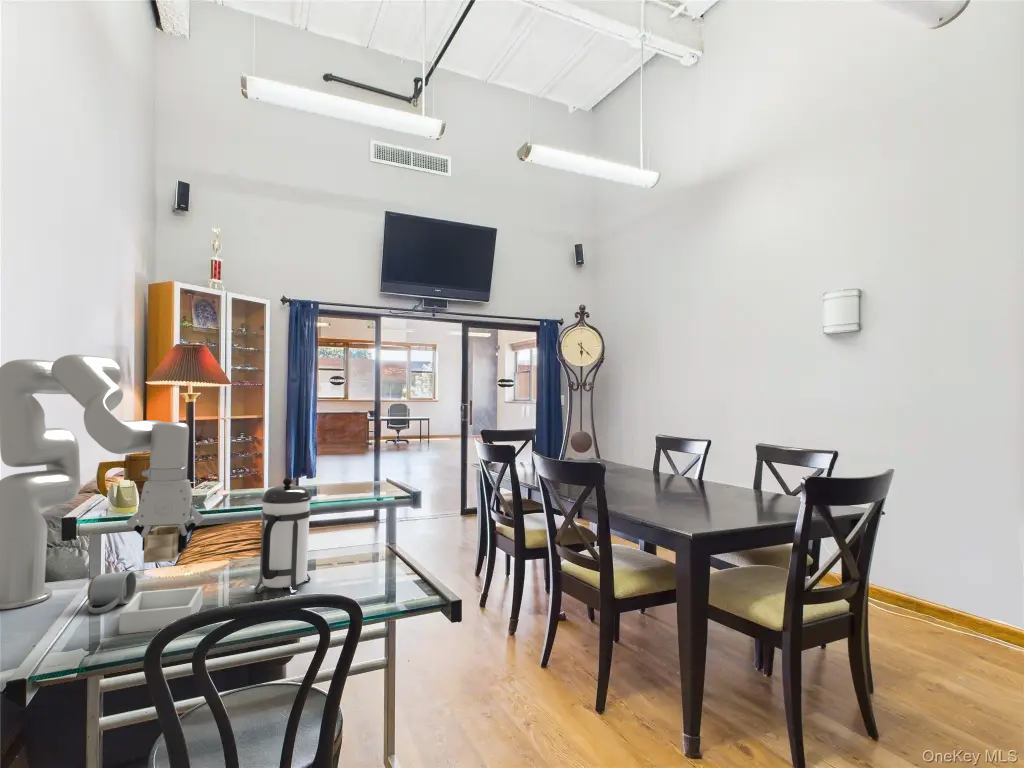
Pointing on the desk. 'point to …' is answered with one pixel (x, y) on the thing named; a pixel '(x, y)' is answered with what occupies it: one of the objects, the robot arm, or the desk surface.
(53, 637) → the desk surface
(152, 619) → the grey crate
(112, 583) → the ceramic mug
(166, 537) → the birch crate
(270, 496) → the coffee press
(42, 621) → the desk surface
